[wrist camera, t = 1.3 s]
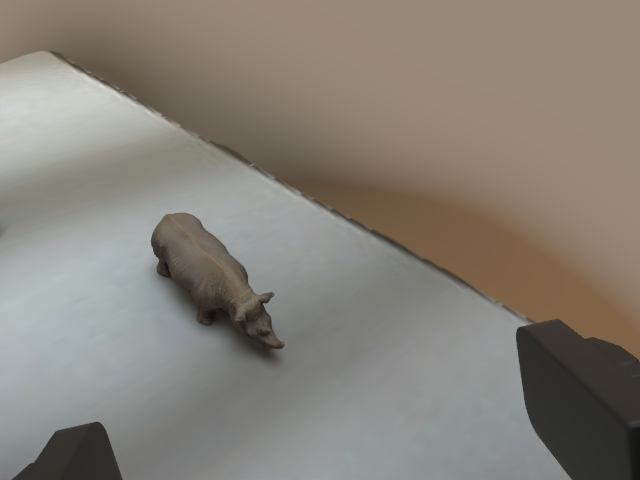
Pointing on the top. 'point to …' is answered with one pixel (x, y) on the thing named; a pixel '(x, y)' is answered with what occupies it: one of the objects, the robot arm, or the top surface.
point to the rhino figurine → (212, 277)
